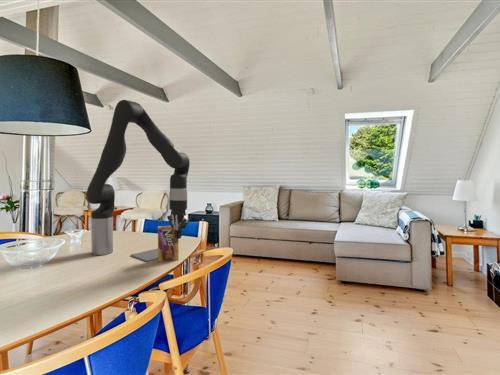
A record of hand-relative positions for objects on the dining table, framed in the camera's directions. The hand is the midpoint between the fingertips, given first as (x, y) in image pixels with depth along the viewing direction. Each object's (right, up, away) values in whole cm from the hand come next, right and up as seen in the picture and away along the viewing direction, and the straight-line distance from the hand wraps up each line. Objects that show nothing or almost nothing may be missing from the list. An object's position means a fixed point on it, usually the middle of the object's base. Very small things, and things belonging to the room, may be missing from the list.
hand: (178, 238), depth 124 cm
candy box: (-6, -11, +5) cm, 13 cm away
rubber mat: (-14, -10, +12) cm, 21 cm away
